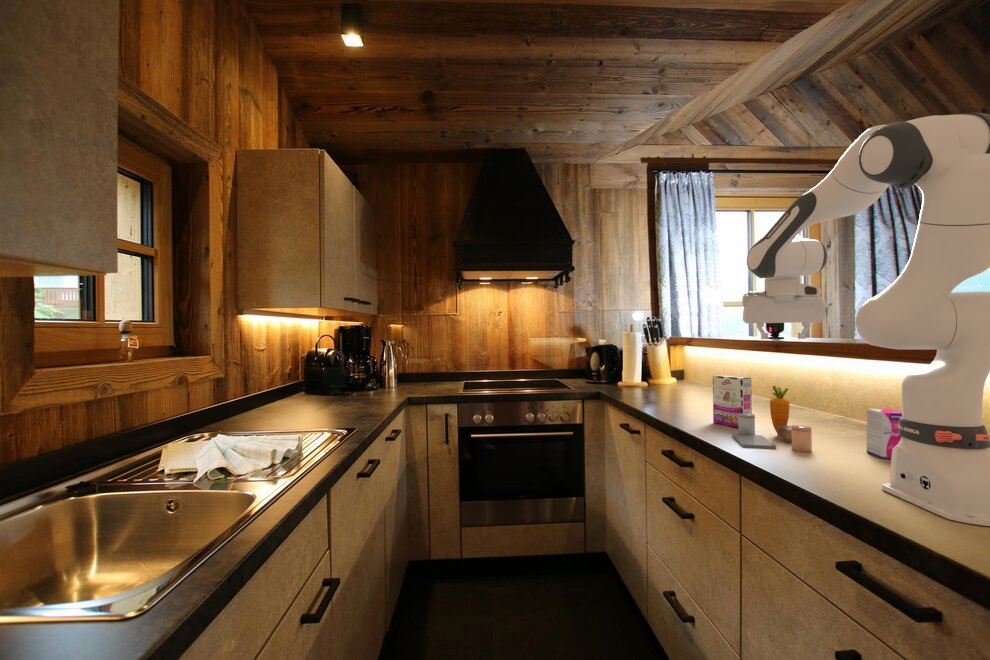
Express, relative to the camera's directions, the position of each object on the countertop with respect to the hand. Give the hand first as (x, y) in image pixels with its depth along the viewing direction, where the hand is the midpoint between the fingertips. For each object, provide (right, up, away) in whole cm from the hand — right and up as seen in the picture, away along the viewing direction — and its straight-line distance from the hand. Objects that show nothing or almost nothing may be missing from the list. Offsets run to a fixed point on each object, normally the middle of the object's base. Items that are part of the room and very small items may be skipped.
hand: (783, 338), depth 130 cm
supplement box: (+15, -29, -16) cm, 37 cm away
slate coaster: (-10, -29, -2) cm, 31 cm away
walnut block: (+2, -29, -1) cm, 29 cm away
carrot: (+3, -29, +5) cm, 30 cm away
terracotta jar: (-1, -29, -10) cm, 31 cm away
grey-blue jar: (-6, -29, +8) cm, 31 cm away
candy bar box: (-4, -29, +21) cm, 36 cm away
